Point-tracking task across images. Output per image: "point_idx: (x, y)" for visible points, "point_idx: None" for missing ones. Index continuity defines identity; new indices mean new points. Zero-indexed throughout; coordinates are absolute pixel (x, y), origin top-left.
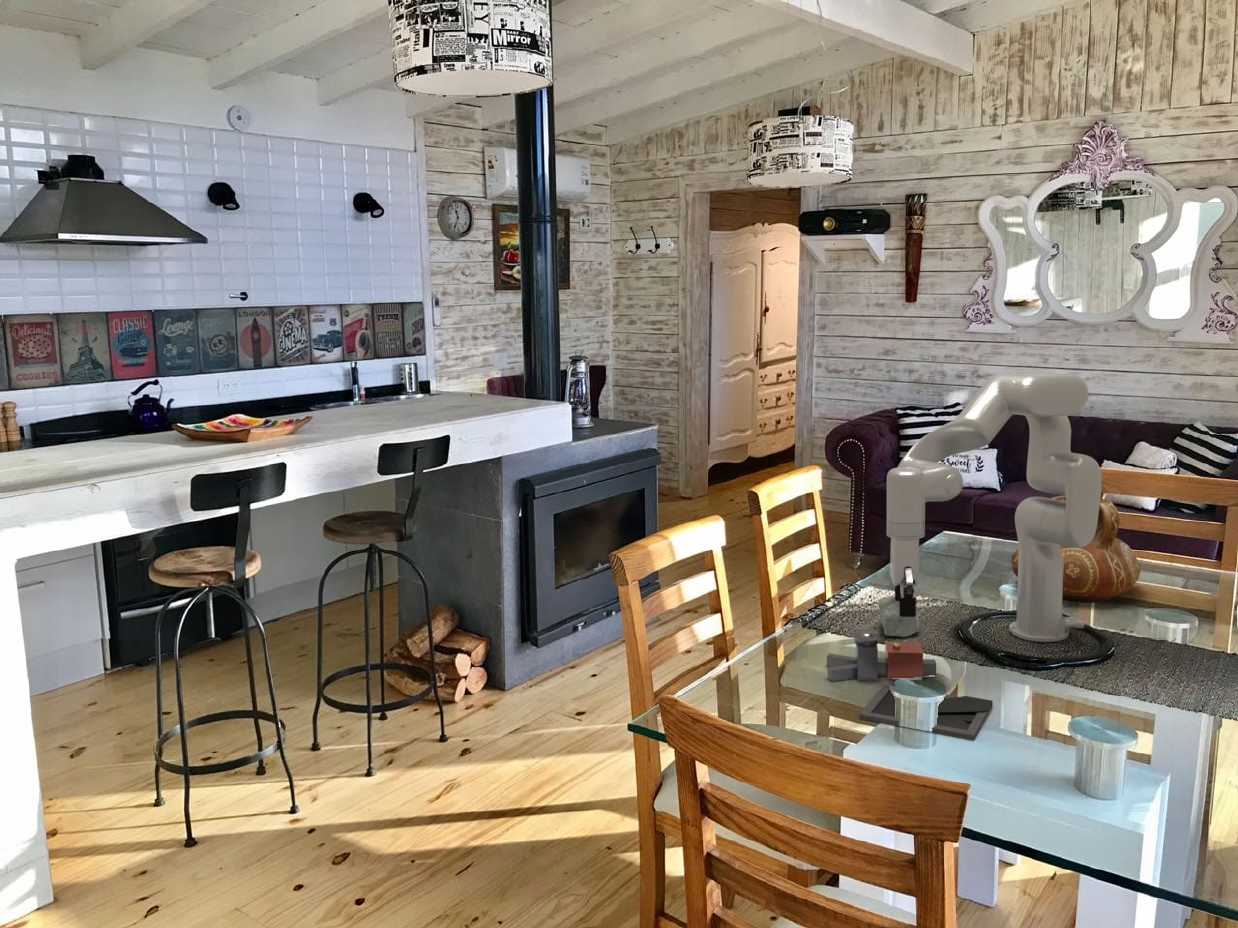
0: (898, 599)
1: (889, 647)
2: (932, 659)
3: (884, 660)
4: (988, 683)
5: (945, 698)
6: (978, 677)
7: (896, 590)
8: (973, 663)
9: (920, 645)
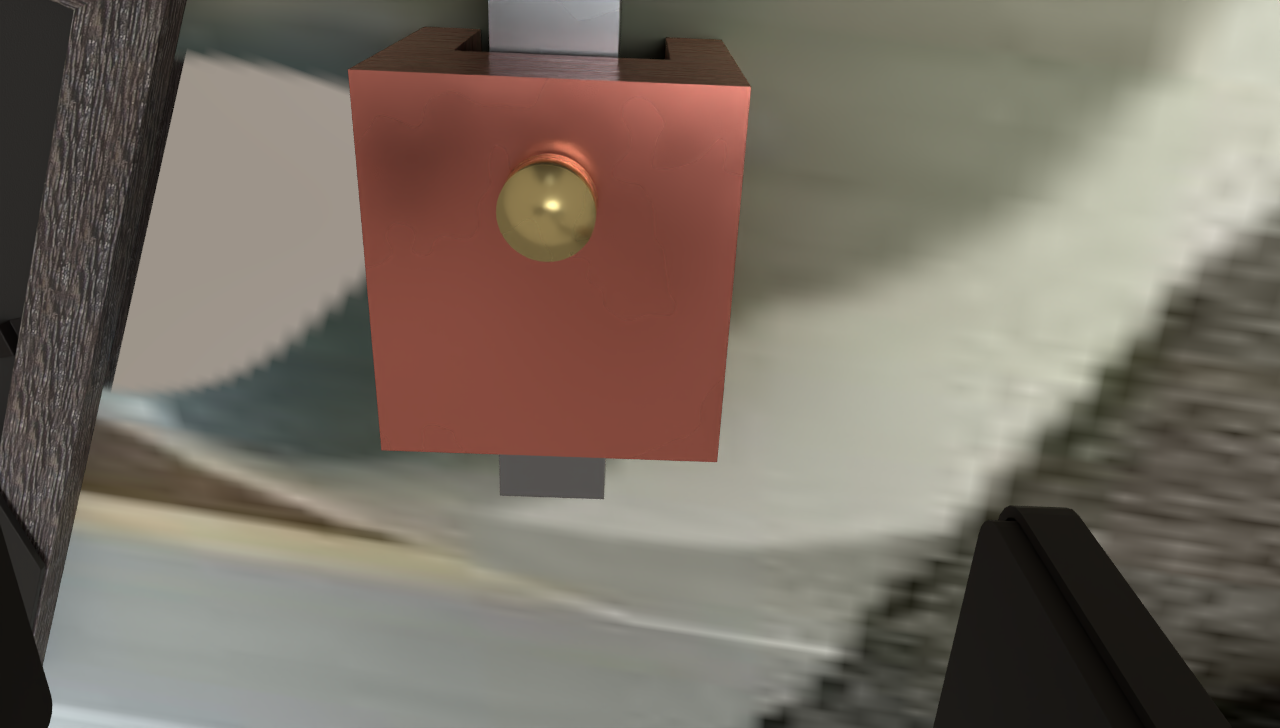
0: (981, 580)
1: (527, 112)
2: (601, 480)
3: (549, 27)
4: (442, 709)
5: (2, 434)
6: (542, 677)
7: (1087, 715)
8: (800, 691)
9: (611, 456)
